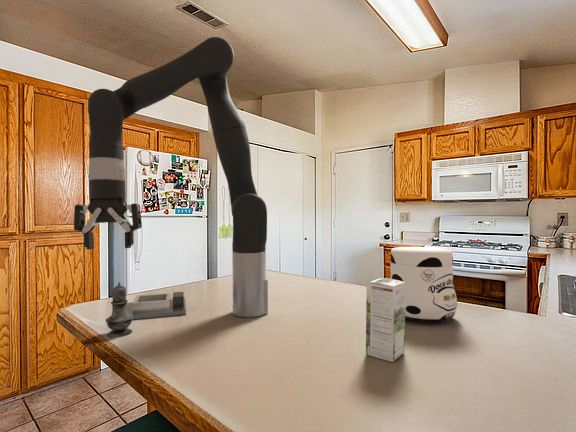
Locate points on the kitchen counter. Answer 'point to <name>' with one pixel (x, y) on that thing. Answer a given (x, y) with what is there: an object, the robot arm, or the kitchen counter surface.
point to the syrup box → (385, 319)
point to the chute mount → (157, 305)
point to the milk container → (425, 282)
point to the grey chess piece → (119, 314)
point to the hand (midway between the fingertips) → (109, 248)
